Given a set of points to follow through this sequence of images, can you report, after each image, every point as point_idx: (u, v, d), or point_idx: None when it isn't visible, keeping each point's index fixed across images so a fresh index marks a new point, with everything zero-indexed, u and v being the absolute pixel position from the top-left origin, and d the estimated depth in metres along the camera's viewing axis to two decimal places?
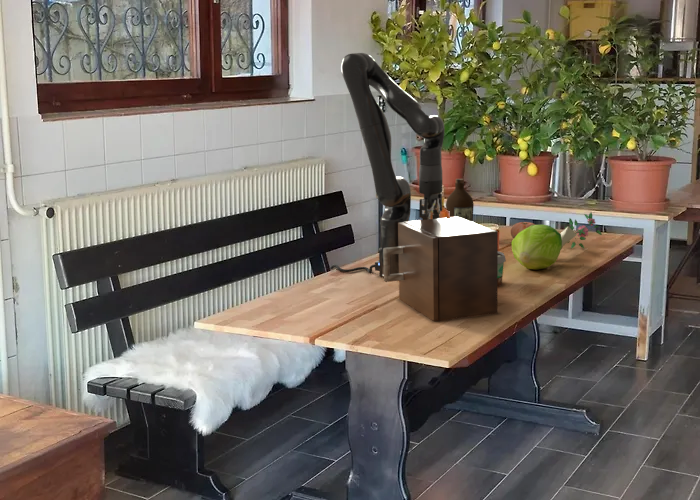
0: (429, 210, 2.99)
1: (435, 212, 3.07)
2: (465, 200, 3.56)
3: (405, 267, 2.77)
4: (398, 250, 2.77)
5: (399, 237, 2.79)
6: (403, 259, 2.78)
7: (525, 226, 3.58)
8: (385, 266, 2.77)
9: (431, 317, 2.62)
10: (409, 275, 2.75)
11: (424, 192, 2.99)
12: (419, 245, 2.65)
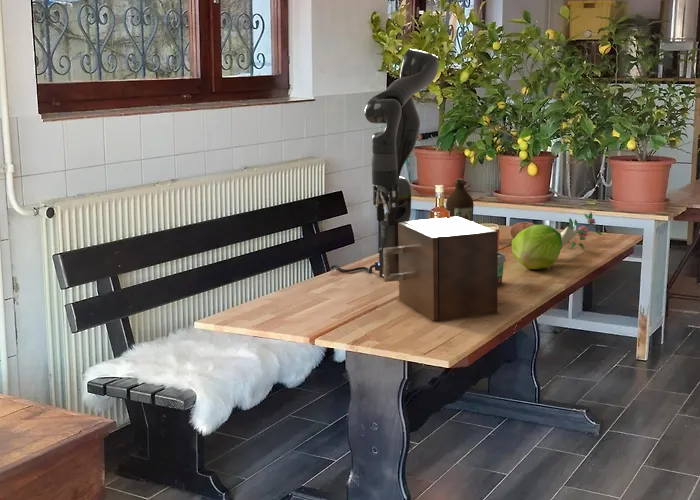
0: (393, 203, 2.70)
1: (380, 206, 2.78)
2: (465, 200, 3.56)
3: (405, 267, 2.77)
4: (398, 250, 2.77)
5: (399, 237, 2.79)
6: (403, 259, 2.78)
7: (525, 226, 3.58)
8: (385, 266, 2.77)
9: (431, 317, 2.62)
10: (409, 275, 2.75)
11: (387, 183, 2.69)
12: (419, 245, 2.65)
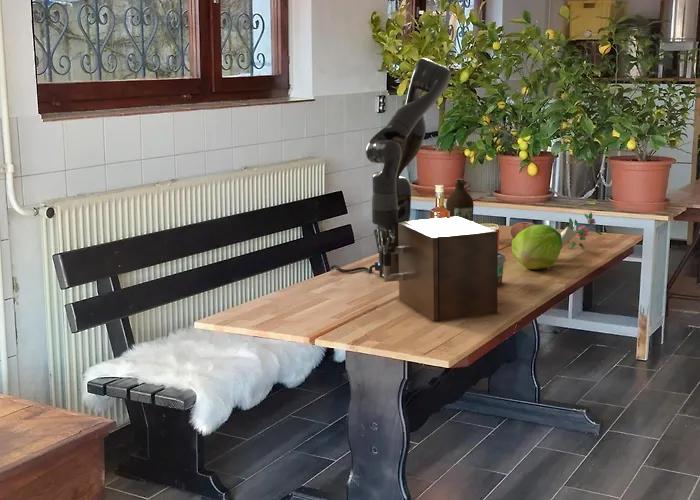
0: None
1: None
2: (465, 200, 3.56)
3: (405, 267, 2.77)
4: (398, 250, 2.77)
5: (399, 237, 2.79)
6: (403, 259, 2.78)
7: (525, 226, 3.58)
8: (385, 266, 2.77)
9: (431, 317, 2.62)
10: (409, 275, 2.75)
11: (387, 223, 2.71)
12: (419, 245, 2.65)
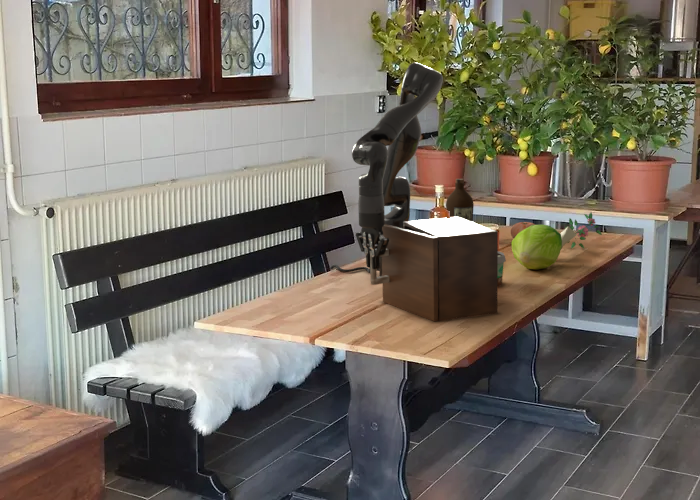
0: None
1: None
2: (465, 200, 3.56)
3: (391, 269, 2.75)
4: None
5: None
6: (389, 261, 2.76)
7: (525, 226, 3.58)
8: (372, 269, 2.74)
9: (430, 317, 2.61)
10: (397, 277, 2.73)
11: (377, 225, 2.68)
12: (413, 246, 2.64)
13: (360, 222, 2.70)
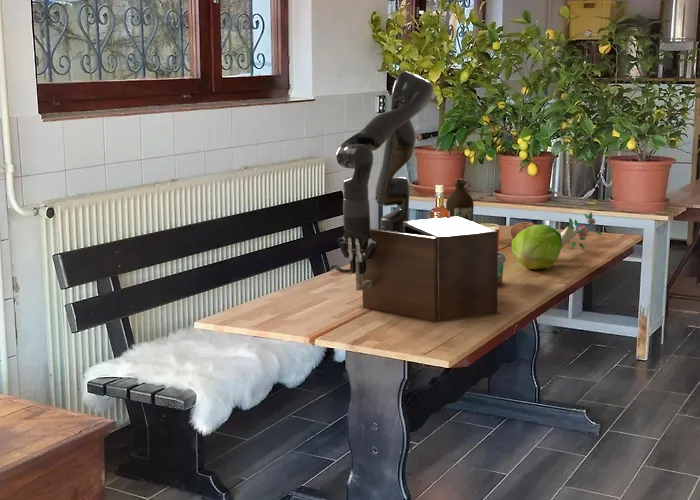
0: None
1: (354, 258, 2.68)
2: (465, 200, 3.56)
3: (375, 273, 2.71)
4: None
5: None
6: (372, 265, 2.71)
7: (525, 226, 3.58)
8: (358, 274, 2.68)
9: (430, 318, 2.61)
10: (384, 280, 2.69)
11: (365, 229, 2.63)
12: (407, 248, 2.62)
13: (347, 227, 2.63)
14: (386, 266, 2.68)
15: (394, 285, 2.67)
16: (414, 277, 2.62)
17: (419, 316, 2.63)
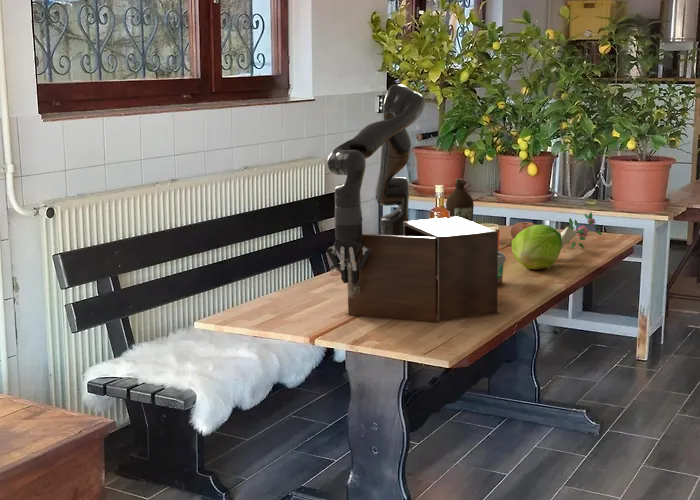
0: None
1: (345, 267, 2.61)
2: (465, 200, 3.56)
3: (364, 278, 2.65)
4: None
5: None
6: (361, 270, 2.65)
7: (525, 226, 3.58)
8: (351, 281, 2.60)
9: (430, 318, 2.60)
10: (375, 285, 2.64)
11: (360, 237, 2.56)
12: (402, 250, 2.59)
13: (342, 235, 2.55)
14: (377, 270, 2.63)
15: (387, 289, 2.63)
16: (411, 279, 2.60)
17: (417, 318, 2.62)
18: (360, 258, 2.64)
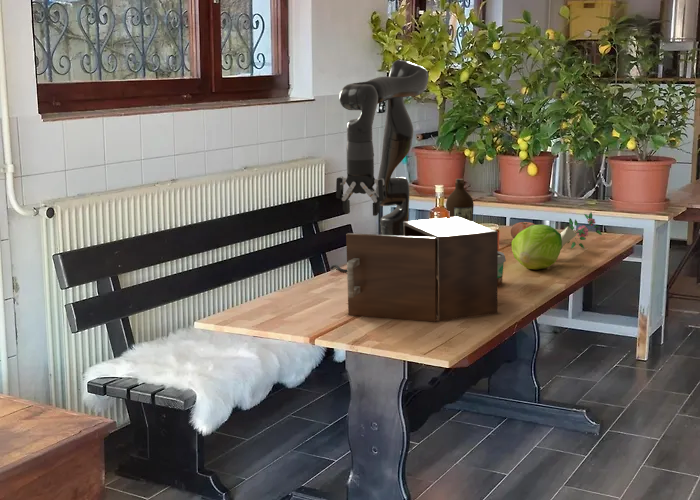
0: (375, 192, 2.61)
1: (347, 198, 2.64)
2: (465, 200, 3.56)
3: (364, 278, 2.65)
4: (357, 262, 2.63)
5: (349, 249, 2.65)
6: (361, 270, 2.65)
7: (525, 226, 3.58)
8: (351, 281, 2.60)
9: (430, 318, 2.60)
10: (375, 285, 2.64)
11: (371, 172, 2.59)
12: (402, 250, 2.59)
13: (353, 170, 2.57)
14: (377, 270, 2.63)
15: (387, 289, 2.63)
16: (411, 279, 2.60)
17: (417, 318, 2.62)
18: (360, 258, 2.64)
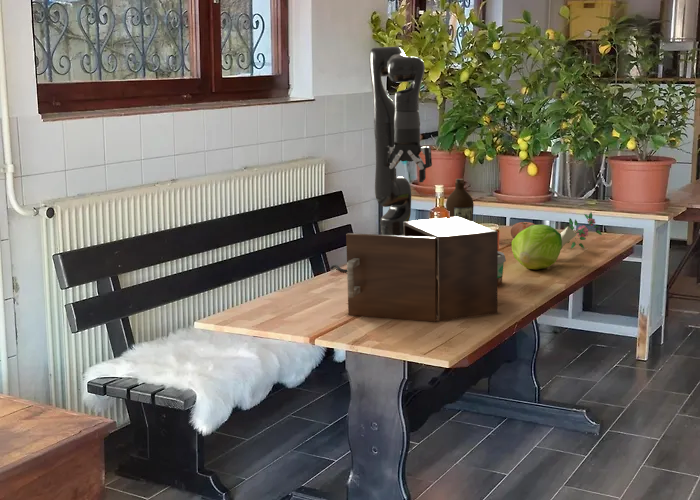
0: (421, 159, 2.75)
1: (394, 166, 2.77)
2: (465, 200, 3.56)
3: (364, 278, 2.65)
4: (357, 262, 2.63)
5: (349, 249, 2.65)
6: (361, 270, 2.65)
7: (525, 226, 3.58)
8: (351, 281, 2.60)
9: (430, 318, 2.60)
10: (375, 285, 2.64)
11: (418, 141, 2.72)
12: (402, 250, 2.59)
13: (401, 139, 2.71)
14: (377, 270, 2.63)
15: (387, 289, 2.63)
16: (411, 279, 2.60)
17: (417, 318, 2.62)
18: (360, 258, 2.64)
